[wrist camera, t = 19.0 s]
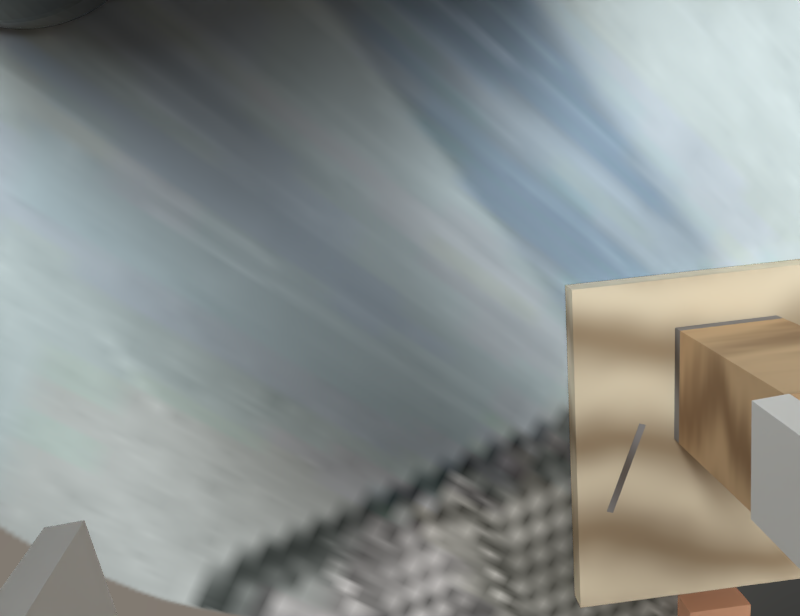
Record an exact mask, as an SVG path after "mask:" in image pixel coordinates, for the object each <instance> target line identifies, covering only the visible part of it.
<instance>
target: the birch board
mask: <svg viewBox="0 0 800 616" xmlns="http://www.w3.org/2000/svg"><path fill="white" fill-rule="evenodd" d="M565 295H566V327H567V360H568V393H569V426H570V459H571V492H572V525H573V557H574V590H575V597H576V599H577V601H578V603H579V605H580V607H581V608H582V607H590V606H597V605H604V604H612V603H619V602H627V601H634V600H642V599H649V598H657V597H664V596H672V595H679V594H687V593H694V592H702V591H709V590H717V589H724V588H731V587H739V586H746V585H754V584H761V583H769V582H776V581H784V580H791V579H799V578H800V569H799V568H798V567H797V566H796V565H795V564H794V563H793V562H792V561H791V560H790V559H789V558H788V557H787V556H786V555H785V553H784V552H783V551H782V550H781V549H780V548H779V547H778V546H777V545H776V544H775V543H774V542H773V541H772V540H771V539H770V538H769V537H768V536H767V535H766V534H765V533H764V532H763V531H762V530H761V529H760V528H759V527H758V526H757V525H756V524H755V523H754V522H753V521H752V520H751V512H750V511H749V510H748V509H747V508H746V507H745V506H744V505H743V504H742V503H741V502H740V501H739V500H738V499H737V498H736V497H735V496H734V495H733V494H732V493H730V492H729V491H728V490H727V489H726V488H725V487H724V486H723V485H722V484H721V483H720V482H719V481H718V480H717V479H716V478H715V477H714V476H713V475H712V474H711V473H709V472H708V471H707V470H706V469H705V468H704V467H703V466H702V465H701V464H700V463H699V462H698V461H697V460H696V459H695V458H694V457H693V456H692V455H691V454H690V453H688V452H687V451H686V450H685V449H684V448H683V447H682V446H681V445H680V444H679V443H678V442H677V441H676V440H675V439H674V389H675V328H676V327H685V326H693V325H701V324H709V323H718V322H726V321H734V320H742V319H751V318H759V317H767V316H775V315H777V316H779V317H782V318H784V319H786V320H789V321H791V322H793V323H795V324H798V325H800V259H796V260H787V261H778V262H769V263H760V264H751V265H742V266H733V267H724V268H715V269H706V270H697V271H688V272H679V273H670V274H661V275H652V276H643V277H634V278H625V279H616V280H607V281H598V282H589V283H580V284H571V285H565Z"/></svg>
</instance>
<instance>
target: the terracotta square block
mask: <svg viewBox="0 0 800 616" xmlns="http://www.w3.org/2000/svg"><path fill="white" fill-rule="evenodd" d="M750 611H751V604H750V603H749V602H748V601H747V599H746V598H745V597H744V596H743V595H742V593H741V592H740V591H739V590H738V589H737V588H736V587H733V588H726V589H719V590H711V591H704V592H697V593H690V594H682V595H678V616H750Z"/></svg>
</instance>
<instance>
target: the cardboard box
mask: <svg viewBox="0 0 800 616" xmlns="http://www.w3.org/2000/svg"><path fill="white" fill-rule="evenodd" d="M785 394H791V395H792V396H794V397H795V398H797V399H798V400H800V325H798V324H795V323H793V322H791V321H789V320H786V319H784V318H782V317H779V316H777V315H775V316H767V317H759V318H751V319H742V320H734V321H726V322H718V323H709V324H701V325H693V326H685V327H676V328H675V389H674V439H675V440H676V441H677V442H678V443H679V444H680V445H681V446H682V447H683V448H684V449H685V450H686V451H687V452H688V453H690V454H691V455H692V456H693V457H694V458H695V459H696V460H697V461H698V462H699V463H700V464H701V465H702V466H703V467H704V468H705V469H706V470H707V471H708V472H709V473H711V474H712V475H713V476H714V477H715V478H716V479H717V480H718V481H719V482H720V483H721V484H722V485H723V486H724V487H725V488H726V489H727V490H728V491H729V492H730V493H732V494H733V495H734V496H735V497H736V498H737V499H738V500H739V501H740V502H741V503H742V504H743V505H744V506H745V507H746V508H747V509H748V510H749V511H750V512H751V418H752V400H757V399H763V398H768V397H774V396H779V395H785Z"/></svg>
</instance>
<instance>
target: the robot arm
mask: <svg viewBox="0 0 800 616" xmlns="http://www.w3.org/2000/svg"><path fill="white" fill-rule="evenodd" d="M106 1H107V0H0V27H1V28H11V29H31V28H41V27H48V26H53V25H57V24H61V23H64V22H68V21H70V20H73V19H76V18H78V17H80V16H82V15H84V14H86V13H88V12H90V11H92V10H94V9H95V8H97V7H99V6H100V5H102V4H103V3H104V2H106ZM751 520H752V521H753V522H754V523H755V524H756V525H757V526H758V527H759V528H760V529H761V530H762V531H763V532H764V533H765V534H766V535H767V536H768V537H769V538H770V539H771V540H772V541H773V542H774V543H775V544H776V545H777V546H778V547H779V548H780V549H781V550H782V551H783V552H784V553H785V555H786V556H787V557H788V558H789V559H790V560H791V561H792V562H793V563H794V564H795V565H796V566H797V567H798V568H799V569H800V400H798V399H797V398H795V397H794V396H792V395H791V394H785V395H779V396H774V397H768V398H763V399H757V400H752V418H751ZM0 616H118V615H117V612H116V609H115V606H114V604H113V600H112V598H111V595H110V592H109V589H108V586H107V583H106V580H105V578H104V575H103V572H102V569H101V566H100V563H99V561H98V558H97V555H96V552H95V549H94V546H93V543H92V541H91V538H90V535H89V532H88V529H87V526H86V523H85V521H78V522H72V523H67V524H61V525H56V526H50V527H45V528H44V529H43V530H42V531H41V533H40V534H39V536H38V537H37V538H36V540H35V541H34V543H33V544H32V546H31V547H30V548H29V550H28V551H27V553H26V554H25V556H24V557H23V558H22V560H21V561H20V562H19V564H18V566H17V567H16V568H15V570H14V571H13V572H12V574H11V575H10V577H9V578H8V580H7V581H6V582H5V584H4V585H3V587H2V588H1V589H0Z"/></svg>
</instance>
